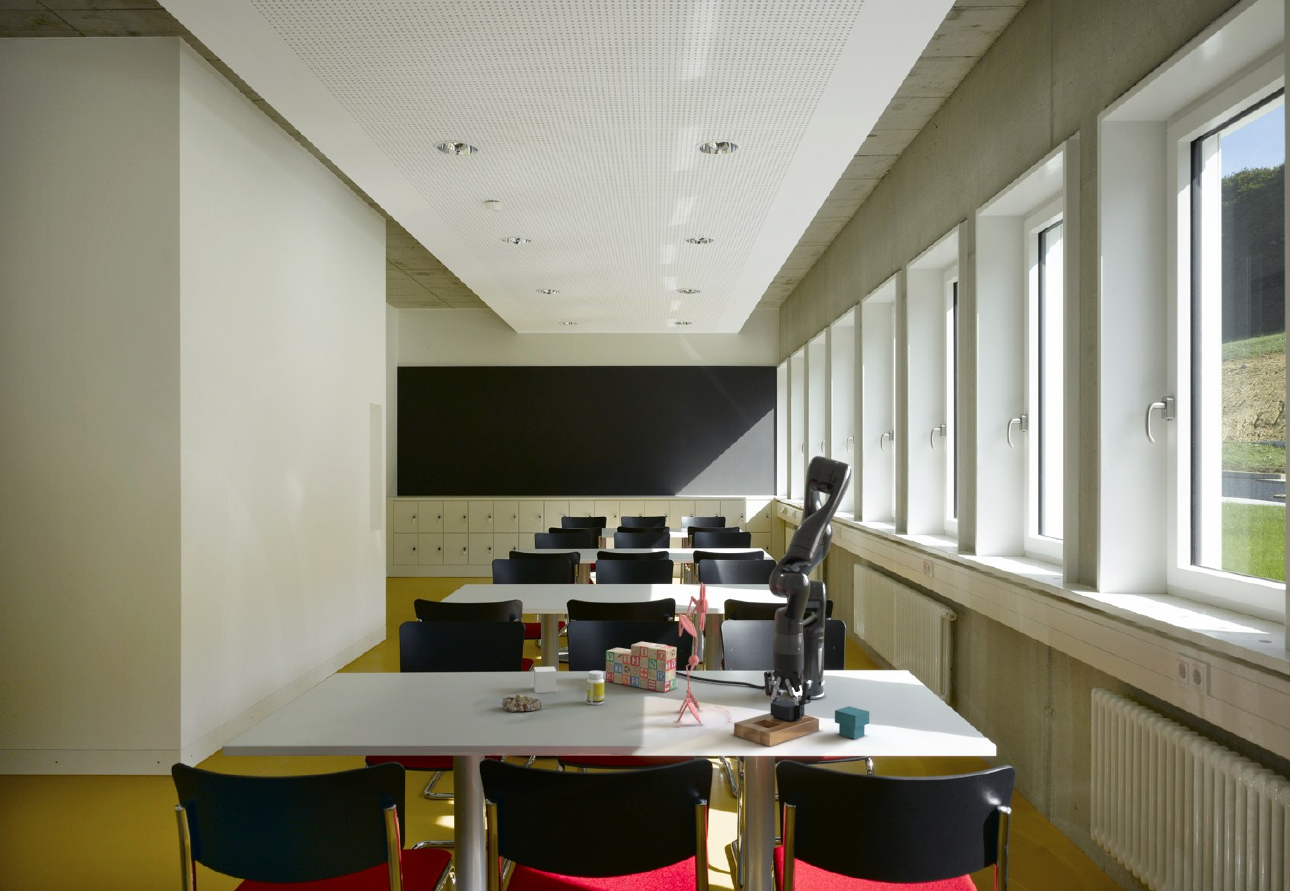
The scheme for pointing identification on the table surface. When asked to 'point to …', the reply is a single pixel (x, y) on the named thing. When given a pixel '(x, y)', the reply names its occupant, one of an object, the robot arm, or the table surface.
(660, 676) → the stack of blocks
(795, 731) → the block
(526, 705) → the mineral rock
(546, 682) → the white cube
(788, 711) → the dark grey cube
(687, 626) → the figurine
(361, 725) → the table surface
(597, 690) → the supplement bottle
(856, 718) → the teal stepped block
